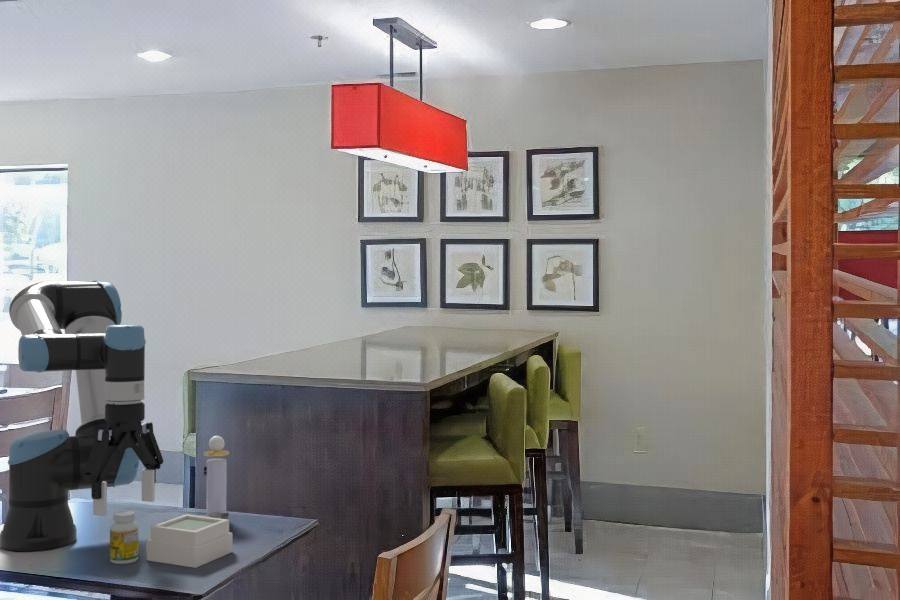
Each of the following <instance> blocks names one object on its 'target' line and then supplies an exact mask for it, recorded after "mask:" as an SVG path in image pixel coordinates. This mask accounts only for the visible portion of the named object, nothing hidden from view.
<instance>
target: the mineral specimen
mask: <svg viewBox="0 0 900 600" xmlns="http://www.w3.org/2000/svg"><path fill="white" fill-rule="evenodd" d="M229 514H230V513H229V512H226V513H219V512H213V513H209V514H205V513H204V514H199V515H198V516H204V517H212V518H220V519H228V520H229V516H230V515H229ZM229 523H231V520H229Z"/></svg>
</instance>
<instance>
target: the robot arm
mask: <svg viewBox="0 0 900 600" xmlns="http://www.w3.org/2000/svg"><path fill="white" fill-rule="evenodd" d="M121 307H122V303H121V298H120V295H119V292H118V290H117V287H115V285H114V284H112V283H110V282H108V281H98V280H92V281H70V280H69V281H63V280H62V281H61V280H60V281H59V280H57V281H56V280H55V281H54V280H46V281H40V282H36V283H33V284H31V285H29V286H27V287H25V288H23V289H21V290H20V291H19V292H18V293H17V294H16V295H15V296H13V299H11V301H10V305H9V309H8V310H9V311H8V313H9V317H10V321H11V323H12V324H13V326H14V327H15V328H16V329H17V330H19V331H20V333H21V336H20V338H19V340H18V347H17V348H18V349H17V351H18V353H17V354H18V367H19V368H20V370H21V371H22V372H36V373H44V372H62V371H63V372H65V371H67V372H68V371H75V373H76V385H77V392H78V394H77V395H78V402H79V412H80V420H81V421H80V422H81V424H80V425H79V426H78V427H77V428H76V430H75V435H74V436H73V435H70V433H69V432H68V430H66V429H55V430H53V429H51V430H50V429H49V430H43V431H42V430H41V431H37V432H32V433H29V434H25V435H22V436H20V437H17V438H15V439H14V440H12V442H11V443H10V446H9V451H8V461H7V464H8V510H7V514H6V516H5V520H4V524H3V528H2V530H1V531H0V548H1V549H3V550H7V551H14V552H34V551H36V552H37V551H45V550H51V549H52V550H53V549H57V548H61V547H64V546H67V545H70V544H72V543H73V542H76V540H77V534H78V533H77V532H78V531H77V526H76V524H74V523H75V522H74V519H73V516H72V512H71V509H70V506H69V491H74V490H75V491H77V490H88V489H91V491H90V493H91V499H92V506H93V507H92V515H93V516H99V517H105V516H108V490H107V489H108V488H111V487H112V488H115V487H117V486H118V487H119V486H125V485H130V484H131V483H133V482H134V481H135V479H136V478H137V474H138V470H139V465H140V462H141V463H142V464H141V465H143V467H144V468H142V469H141V501H142V502H150V503H154V502H155V492H156V491H155V490H156V489H155V488H156V487H155V484H156V481H157V480H156V478H157V477H156V475H157V474H156V473H157V470H159V469H161V467H162V466H161V465H163V463H164V457H163V455H162V453H161V450H160V447H159V445H158V441H157V439H156V436H155V433H154V425H153V422H152V421H144V420H145V417H146V415H145V414H146V413H145V410H146V409H145V406H146V405H145V403H144V402H143V400H145V368H146V367H145V366H146V365H145V362H146V361H145V359H146V358H145V357H146V353H145V351H146V349H145V348H146V344H147V342H146V339H145V328H144V326H143V325H140V324H122V317H123V316H122V315H123V314H122V308H121ZM62 330H64V333H63V332H62Z"/></svg>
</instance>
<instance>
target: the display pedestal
mask: <svg viewBox="0 0 900 600" xmlns="http://www.w3.org/2000/svg"><path fill="white" fill-rule="evenodd" d="M229 521H230V519H229V518H228V519H220V518H212V517H204V516H199V515H197V514H196V515H195V514H188V513H186V514H182V515H180V516H177V517H174V518H171V519H168V520H165V521H162V522H159V523H156V524H154V525H151V526H150V539H147V540H146V561H149V562H153V563H161V564H168V565H175V566H180V567H181V566H182V567H188V568H194V569H196V568H198V567H201V566H203V565H206V564H208V563H210V562H213V561H215V560H217V559H219V558H220V559H221V557H224V556H227V555H229V554H230V553H231V554H232V553H233V540H234V539H233V533H234V532H230V522H229Z"/></svg>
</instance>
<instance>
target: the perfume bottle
mask: <svg viewBox="0 0 900 600" xmlns="http://www.w3.org/2000/svg"><path fill="white" fill-rule="evenodd" d="M225 445H226V444H225V440H224V438H223V437H222V436H220V435H214V436H212V437H211V438H210V439H209V441H208V447H209V449H210V450H205V451H204V452H203V455H204V456H205V457H214V458H210V459H207V460H206V465H205V466H204V467H203V476H205V477H206V486H205V487H206V493H205V495H206V504H205V505H206V507H205V509H206V510H205V511H206V514H209V513H213V512H219V513H227V463H228V462H227V459H226V458H218V457H226V456H229V455H230V451H229V450H226V449H224V447H225ZM215 457H217V458H215Z"/></svg>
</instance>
